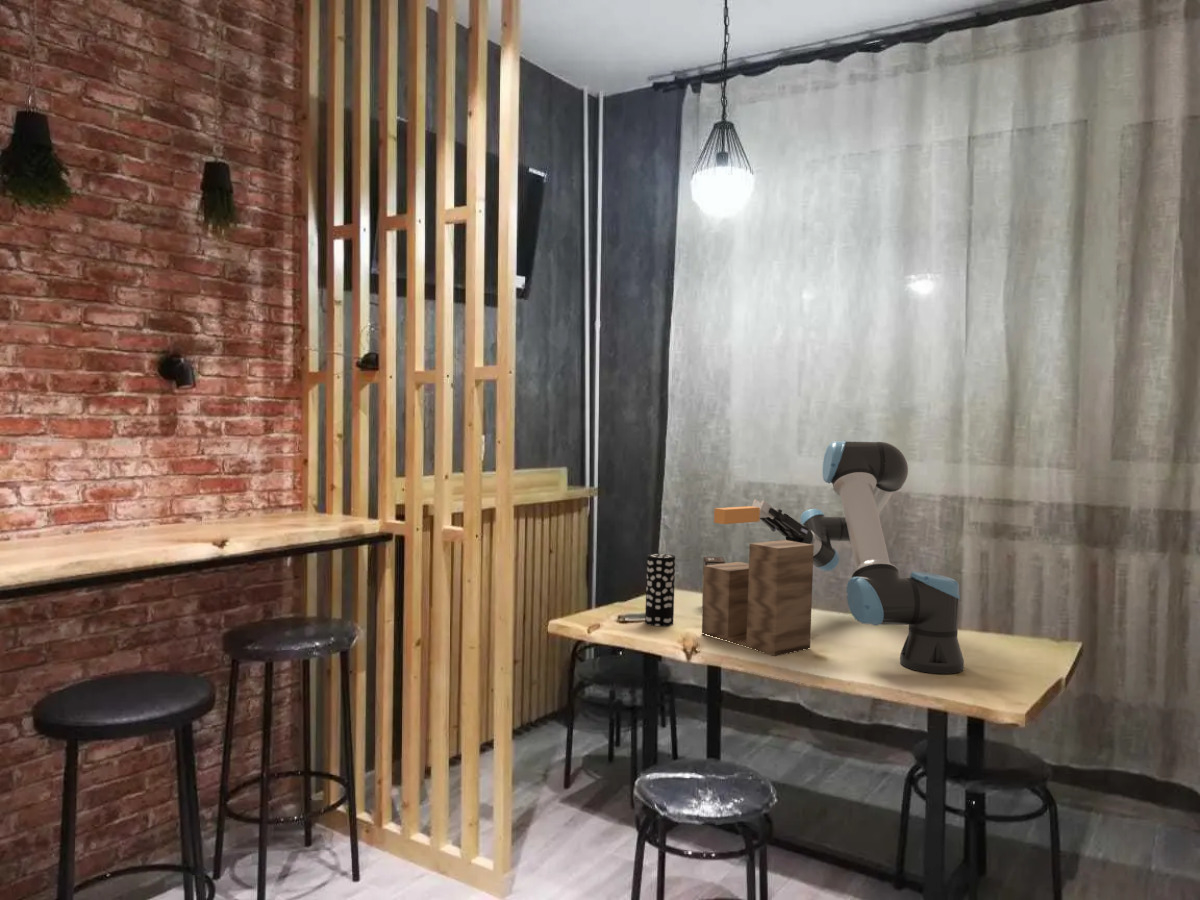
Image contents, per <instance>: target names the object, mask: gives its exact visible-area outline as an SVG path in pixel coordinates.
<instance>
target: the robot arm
mask: <svg viewBox="0 0 1200 900" xmlns="http://www.w3.org/2000/svg"><path fill="white" fill-rule="evenodd" d="M825 449H826V450H825V453H824V456H823V462H822V478H823V481H824V482H825V483H828V484H832V488H833V491H834V493H835V494H837V495H838V496H840V498H841V503H842V507H843V508H842V509H843V513H844V516H825V514H824V513H823V511H822V510H821V509H818V508H810V509H808V510H805V511H803V513H802V514H801V516H800V522H799V521H797V520H796V519H794V518H793V517H791V516H790V514H787V513H786V512H784V513H782V512H783V510H782V509H781V508H780V509H779V508H778V509H779V510H778V512H777V510H775V509H776V508H775V507H773V506H771V504H770V503H768V502H766V500H763V499H762V500H761V502H760V501H759V500H758V499H753V502H752V505H751V506H752V507H760V510H761V511H762V512H764V513H765V514H766V515H767V516H769V517H764V518H760V519H759V520H760V521H761V522H763V523H764V524H765V525H766V526H767V527H768V528H769V529H770V530H771V532H776V531H777V532H779V533H780V534H781V535H782V536H783V537H784V538H785V540H788V541H794V542H800V543H806V544H812V545H814V551H813V566H815V567H816V568H818V569H819V570H821V571H823V572H830V571H833V570H834V569H836V568H837V567H838V565H839V562H840V554H839V553H838V552H837V550H836V549H835V547H834V548H833V546H832V543H831V542H833V541H834V542H850V546H851V552H852V557H853V562H854V565H855V570H854V571H853V572H852V574H851V577H850V578H849V580H848V582H847V583H846V584H847V585H846V594H847V595H846V600H847V605H848V608H849V611H850V613H851V615H852V616H853V618H854V619H855V621H857V622H859V623H861V624H864V625H873V626H879V625H881V626H882V625H883V626H884V625H885V626H888V625H891V626H894V625H895V626H896V625H901V626H902V625H905V626H906V625H907V626H908V631H907V632H908V633H907V636H906V639H905V641H904V644H903V646H902V649H901V652H900V657H899V662H900V664H901V665H902V666H903V667H905V668H908V669H910V670H912V671H913V670H914V671H917V672H922V673H929V674H937V673H938V674H939V675H941V674H944V675H951V674H950V673H953V674H958V673H957V672H959V673H961V672H963V671H964V670H963V669H965V667H964V666H965V663H964V662H965V661H964V660H965V659H964V656H963V653H962V650H961V646H960V642H959V638H958V631H959V630H958V629H959V612H960V611H959V610H960V599H961V597H960V585H959V582H958V581H957V580H956V579H953V578H952V577H948V576H945V575H941V574H936V573H931V572H927V571H918V570H917V571H911V573H910V575H909V577H900V574H899V573H900V572H899V570H898V567H897V566H896V565H894V564H893V563H891V562H890V558H889V553H888V548H887V545H886V541H885V536H884V533H883V529H882V528H883V527H882V523H881V519H880V516H879V515H880V513H881V512H882V511H883V509H884V507H885V506H886V504H887V503H888V501H889V500H890V499H891V497H892V496H893V494H894V492H898V491H900V489H902V487H903V485H904V484H905V483H906V480H907V479H908V478H907V477H908V475H909V465H908V462H907V459H906V457H905V456H904V453H902V451H901V450H900V449H899V448H898V447H896V446H895V445H893V444H891V443H888V442H883V441H846V440H841V441H839V440H837V441H836V440H835V441H832V442H830V443H829V444H828V445H827V447H826V448H825ZM774 508H775V509H774ZM962 670H963V671H962ZM960 671H961V672H960Z"/></svg>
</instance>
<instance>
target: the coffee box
mask: <svg viewBox="0 0 1200 900" xmlns="http://www.w3.org/2000/svg"><path fill="white" fill-rule="evenodd" d="M724 563H726V561H725V559H724V558H723V556H703V564H702V565H703V567H702V568H703V569H702V570H703V571H702V581H703V580H704V566H706V565H715V564H724ZM701 599H702V600H701V601H702V603H701V604H702V607H703V595H702V598H701Z"/></svg>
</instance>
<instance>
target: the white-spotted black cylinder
mask: <svg viewBox="0 0 1200 900" xmlns="http://www.w3.org/2000/svg"><path fill="white" fill-rule="evenodd" d="M675 577H676V555H674V554H668V553H649V554H647V555H646V578H645V579H646V582H645V583H646V585H645V589H646V590H645V617H644V618H645V619H644V620H645V621H644V623H645V624H646V625H649V626H654V627H669V626H672V625H674V616H675V614H674V613H675V584H676V583H675V580H676V579H675Z"/></svg>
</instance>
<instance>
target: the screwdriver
mask: <svg viewBox="0 0 1200 900" xmlns="http://www.w3.org/2000/svg"><path fill="white" fill-rule="evenodd" d="M773 508H774V509H775V510H777V512H778V510H779V508H776V507H773ZM713 509H714V512H713V516H714V517H713V518H714V519H713V523H714V524H721V525H734V524H744V523H757V522H760V520H761V519H760V518H764V517H769V516H767V515H766V514H765V513H764V512H762V511H761V510H760V507H752V505H751V506H750V505H748V506H729V507H728V506H727V507H715V508H713Z"/></svg>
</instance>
